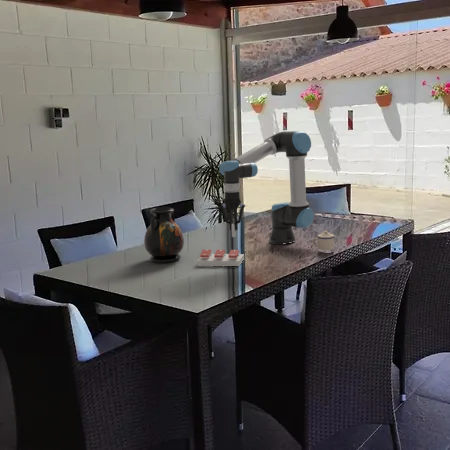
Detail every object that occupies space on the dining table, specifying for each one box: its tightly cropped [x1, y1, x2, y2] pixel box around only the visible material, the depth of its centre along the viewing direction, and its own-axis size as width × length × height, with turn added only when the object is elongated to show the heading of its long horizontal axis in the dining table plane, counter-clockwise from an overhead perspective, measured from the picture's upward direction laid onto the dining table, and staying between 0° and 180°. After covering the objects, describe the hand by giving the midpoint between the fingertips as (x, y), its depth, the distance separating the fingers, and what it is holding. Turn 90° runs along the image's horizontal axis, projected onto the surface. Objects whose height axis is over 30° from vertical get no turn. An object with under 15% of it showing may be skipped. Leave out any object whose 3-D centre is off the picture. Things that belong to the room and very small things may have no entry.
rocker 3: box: [228, 249, 240, 258], centre depth 302 cm, size 4×6×3 cm
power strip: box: [196, 253, 245, 268], centre depth 306 cm, size 22×14×3 cm, turn 77°
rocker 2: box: [214, 249, 226, 258], centre depth 304 cm, size 4×6×3 cm
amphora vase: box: [143, 206, 185, 264], centre depth 315 cm, size 22×22×28 cm
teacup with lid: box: [312, 230, 335, 250], centre depth 319 cm, size 12×9×12 cm
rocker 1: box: [199, 249, 212, 258], centre depth 306 cm, size 4×6×3 cm
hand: (233, 236), depth 303 cm, fingers closed
